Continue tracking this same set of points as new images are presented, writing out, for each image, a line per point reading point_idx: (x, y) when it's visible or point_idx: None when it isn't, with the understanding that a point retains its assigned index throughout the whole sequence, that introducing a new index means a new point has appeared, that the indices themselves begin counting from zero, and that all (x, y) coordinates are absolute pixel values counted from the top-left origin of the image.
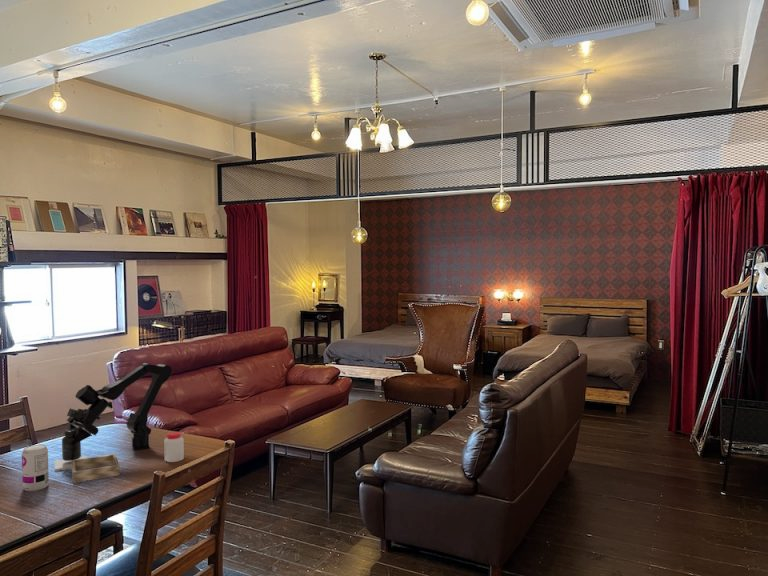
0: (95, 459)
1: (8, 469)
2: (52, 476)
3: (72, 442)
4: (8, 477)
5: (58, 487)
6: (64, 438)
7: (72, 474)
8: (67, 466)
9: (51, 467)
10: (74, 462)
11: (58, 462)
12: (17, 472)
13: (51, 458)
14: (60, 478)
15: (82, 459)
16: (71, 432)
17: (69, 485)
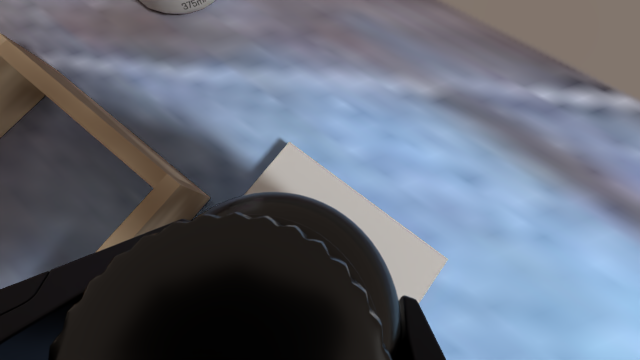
0: None
1: (575, 78)
2: (236, 93)
3: (155, 231)
4: (439, 8)
5: (86, 13)
6: (278, 205)
7: (98, 107)
8: None
9: (376, 190)
10: (125, 161)
11: (382, 239)
12: (475, 66)
13: (562, 324)
14: (170, 89)
15: (115, 231)
16: (112, 279)
17: (52, 45)
